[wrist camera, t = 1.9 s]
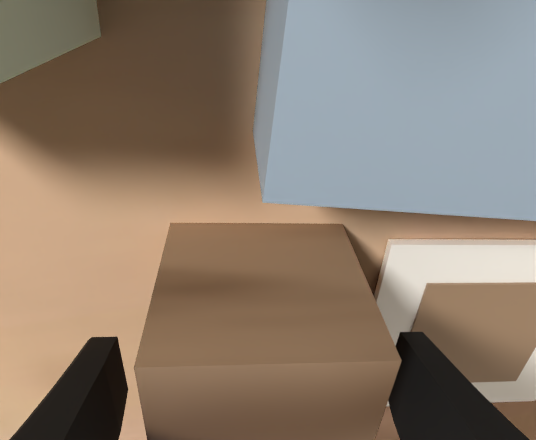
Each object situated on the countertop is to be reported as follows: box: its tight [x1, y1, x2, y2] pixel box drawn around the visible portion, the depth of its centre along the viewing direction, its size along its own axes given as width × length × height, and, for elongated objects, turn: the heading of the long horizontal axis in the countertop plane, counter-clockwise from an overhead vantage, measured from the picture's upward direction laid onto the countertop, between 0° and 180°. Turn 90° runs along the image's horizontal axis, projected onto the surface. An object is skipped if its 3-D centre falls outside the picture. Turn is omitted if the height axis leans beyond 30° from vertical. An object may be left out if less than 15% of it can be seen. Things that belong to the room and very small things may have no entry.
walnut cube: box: [134, 223, 402, 440], centre depth 11 cm, size 5×5×5 cm
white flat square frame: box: [374, 239, 536, 406], centre depth 14 cm, size 8×8×1 cm
